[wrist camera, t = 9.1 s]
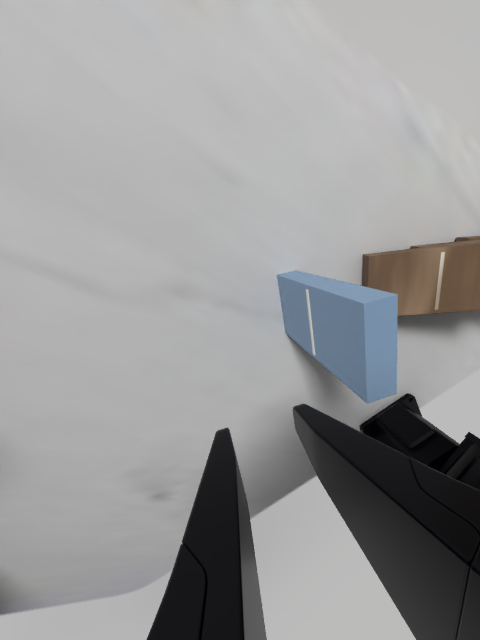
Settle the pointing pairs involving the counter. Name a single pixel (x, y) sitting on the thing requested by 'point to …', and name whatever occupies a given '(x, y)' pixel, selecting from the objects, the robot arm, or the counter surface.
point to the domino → (428, 277)
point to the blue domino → (344, 330)
